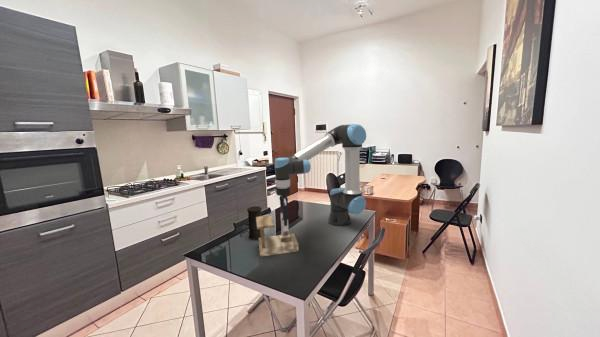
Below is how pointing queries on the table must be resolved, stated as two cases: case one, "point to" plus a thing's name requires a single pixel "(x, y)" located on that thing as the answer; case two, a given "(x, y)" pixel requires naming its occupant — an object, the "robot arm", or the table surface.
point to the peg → (283, 233)
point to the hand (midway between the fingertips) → (284, 229)
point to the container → (254, 222)
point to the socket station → (274, 239)
